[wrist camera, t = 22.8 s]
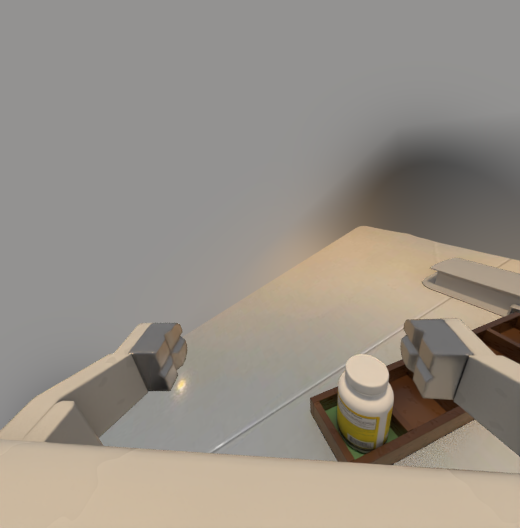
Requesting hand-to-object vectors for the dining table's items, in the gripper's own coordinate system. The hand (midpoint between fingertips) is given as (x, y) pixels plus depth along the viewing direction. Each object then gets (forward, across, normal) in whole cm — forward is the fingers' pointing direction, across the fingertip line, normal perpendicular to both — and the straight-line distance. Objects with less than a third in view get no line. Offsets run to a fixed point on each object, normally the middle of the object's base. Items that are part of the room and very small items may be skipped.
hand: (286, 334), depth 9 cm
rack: (+18, -20, +25) cm, 37 cm away
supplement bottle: (+11, -7, +25) cm, 28 cm away
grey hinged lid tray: (+39, -40, +25) cm, 61 cm away
